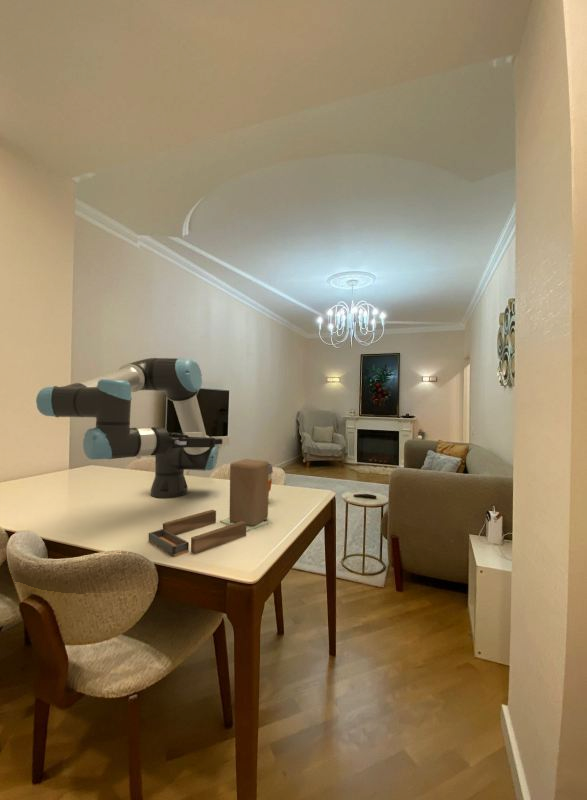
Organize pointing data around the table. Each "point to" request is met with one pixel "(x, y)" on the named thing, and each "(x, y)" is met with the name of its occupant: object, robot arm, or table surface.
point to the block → (249, 491)
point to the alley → (209, 538)
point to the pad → (248, 527)
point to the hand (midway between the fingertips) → (214, 438)
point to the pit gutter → (168, 542)
